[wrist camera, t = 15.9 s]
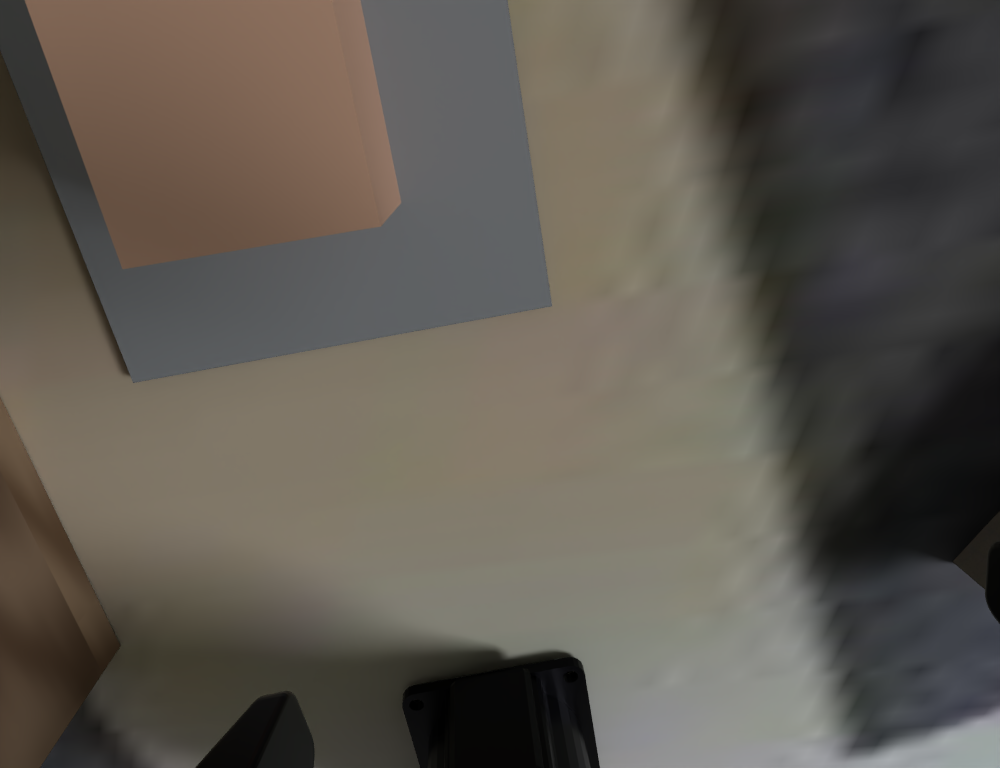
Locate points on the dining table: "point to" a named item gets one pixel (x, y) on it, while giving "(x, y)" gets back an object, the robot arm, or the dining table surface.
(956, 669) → the dining table surface
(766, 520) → the dining table surface
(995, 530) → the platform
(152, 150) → the block
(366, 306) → the mat
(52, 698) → the brown open box
